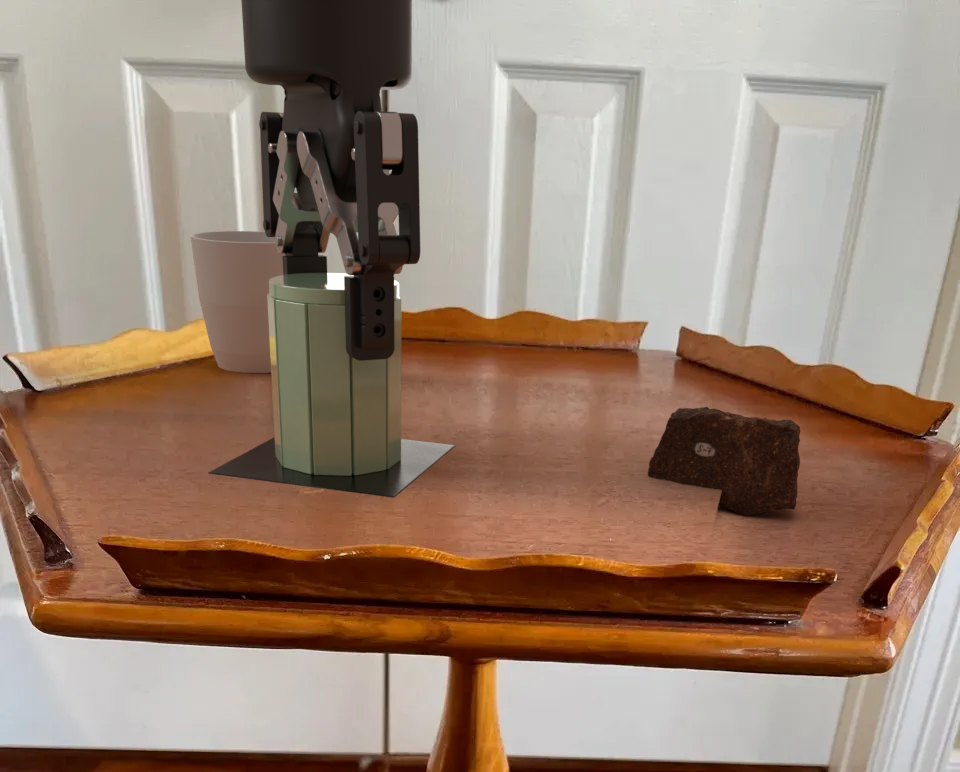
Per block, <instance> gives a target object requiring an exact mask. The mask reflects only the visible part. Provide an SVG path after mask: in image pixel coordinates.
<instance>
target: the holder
mask: <svg viewBox="0 0 960 772" xmlns="http://www.w3.org/2000/svg"><path fill="white" fill-rule="evenodd" d="M455 447H456V445H455V444H449V443H440V442H433V441H431V442H430V441H422V440H413V439H404V438H401V460H400V461H399V462H397V463H396V464H395V465H393V466H392V467H391V468H389V469H386V470H384V471H379V472H373V473H367V474H362V475H356V476H355V475H353V474H352V476H333V475H314V474H307V473H303V472H299V471H296V470H292V469H288V468H284V466H281V464H280V462H279V461H278V459H277V458H276V454H275V436H273V437H272V438H269V439H268V440H266V441H264V442H263V443H262V442H261V444H258V445H256V446H255V447H253V448H251V449H249V450H247V451H246V452H244V453H242V454H240V455H238V456H236V457H235V458H233V459H231V460H229V461H227V462H225V463H223V464H222V465H220V466H218V467H216V468H214V469H212V470H210V471H208V472H207V474H209V475H214V476H224V477H232V478H237V479H245V480H255V481H261V482H270V483H277V484H285V485H293V486H300V487H308V488H315V489H323V490H330V491H338V492H347V493H353V494H354V493H355V494H362V495H369V496H375V497H376V496H377V497H383V498H384V497H385V498H395V497H397V496H398V495H400V493H401V492H403V491H404V490H405V489H406V488H408V486H410V485H411V484H412V483H413V482H414V481H416V480H417V479H418V478H419V477H420V476H422V475H423V474H424V473H425V472H426V471H427V470H428V469H430V468H431V467H432V466H434V465H435V464H436V463H437V462H439V460H440V459H442V458H443V457H444V456H446V455H447V454H448V453H449V452H450V451H451V450H452V449H454V448H455Z"/></svg>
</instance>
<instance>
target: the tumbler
mask: <svg viewBox="0 0 960 772" xmlns="http://www.w3.org/2000/svg"><path fill="white" fill-rule="evenodd" d="M344 276H354V275H348V274H347V273H346V272H327V273H300V274H288V275H281V276H276V277H273V278H270V279H269V293H268V294H267V301H268V320H269V339H270V358H271V373H270V375H271V377H270V378H271V392H272V394H271V395H272V413H273V415H272V416H273V432H274V433H273V434H274V437H275V454H276V458H277V459H278V461H279V462H280V464H281V466H284V468H288V469H292V470H296V471H299V472H303V473H307V474H314V475H333V476H352V474H353V475H355V476H356V475H362V474H367V473H373V472H379V471H384V470H386V469H389V468H391V467H392V466H393V465H395V464H396V463H397V462H399V461H400V460H401V439H402V321H403V320H402V311H403V310H402V304H403V303H402V302H403V301H402V300H403V298H402V297H400V282H398V281H397V280H395V279H394V336H395V348H394V353H393V354H392V356H391V357H389V358H387V359H378V360H364V361H359V360H357V359H354V358H352V357H350V356H349V355H348V353H347V351H346V332H345V292H344Z"/></svg>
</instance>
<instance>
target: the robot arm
mask: <svg viewBox="0 0 960 772" xmlns="http://www.w3.org/2000/svg"><path fill="white" fill-rule="evenodd" d="M240 1H241V17H242V18H241V19H242V32H243V33H242V36H243V51H244V52H243V53H244V67H245V72H246V74H247V76H248V77H249V78H250V79H251V80H252V81H253V82H254V83H257V84H261V85H266V86H267V85H269V86H280V87H282V89H283V92H284V93H283V94H284V100H283V112H279V111H274V112H273V111H261V112H260V116H259V122H258V123H259V124H258V125H259V135H260V139H259V140H260V161H261V164H260V165H261V188H262V213H263V215H262V216H263V222H262V226H263V230H264V232H265V233H266V236H267V237H275V245H276V248H277V251H278V253H280V254H285V256H282V259H283V275H288V274H300V273H328V256H327V255H323V254H324V253H326V251H327V247H328V244H329V240H330V235H331V234H332V235H333V236H335V238H336V242H337V245H338V250H339V253H340V256H341V260H342V264H343V267H344V271H345V273H347V274H348V275H354V276H344V292H345V332H346V351H347V353H348V355H349V356H350V357H352V358H354V359H357V360H359V361H364V360H378V359H387V358H389V357H391V356H392V354H393V353H394V348H395V336H394V280H395V275H399V274H401V272H402V271H403V267H404V265H417V264H418V263H419V262H420V258H421V210H420V209H421V205H420V157H419V156H420V155H419V154H420V153H419V124H418V120H417V117H416V115H415V114H414V113H407V112H406V113H405V112H397V111H385V110H383V107H382V99H381V91H393V90H395V91H396V90H401V89H404V88H406V87H407V86H408V85H409V84H410V82H411V81H412V77H413V0H240ZM295 190H296V192H295ZM397 219H398V234H397V231H396V227H395V222H396V220H397Z"/></svg>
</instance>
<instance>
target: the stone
mask: <svg viewBox="0 0 960 772" xmlns="http://www.w3.org/2000/svg"><path fill="white" fill-rule="evenodd" d="M800 434H801V427H800V425H798V424H797V423H796V422H795V421H793V420H791V419H780V420H777V419H769V418H767V417H765V418H761V417H758V416H751V417H749V416H744V415H742V414H737V413H733V412H729V411H723V410H720V409H717V408H709V407H708V406H703V407H695V408H691V407H684V408H683V407H679V408H678V409H676V410H675V411H674V412H671V414H670V417H669V418H668V420H667V422H666V425H665V429H664V432H663V433H662V435H661V437H660V440H659V443H658V445H657V447H655V449H654V452H653V455H652V457H650V460H649V462H648V470H647V477H649V478H652V479H656V480H661V481H669V482H673V483H677V484H680V485H687V486H693V487H700V488H705V489H706V488H707V489H714V490H720V491H721V492H720V495H719V496H720V497H719V501H718V505H717V507H718V508H722V509H727V510H732V511H734V512H735V513H736V514H738V515H743V516H749V515H759V514H762V513H767V512H769V511H781V510H795V509H796V507H797V499H798V495H799V494H798V477H799V469H800V465H801V458H800V457H801V456H800V454H799V445H800V442H801V438H800Z"/></svg>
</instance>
